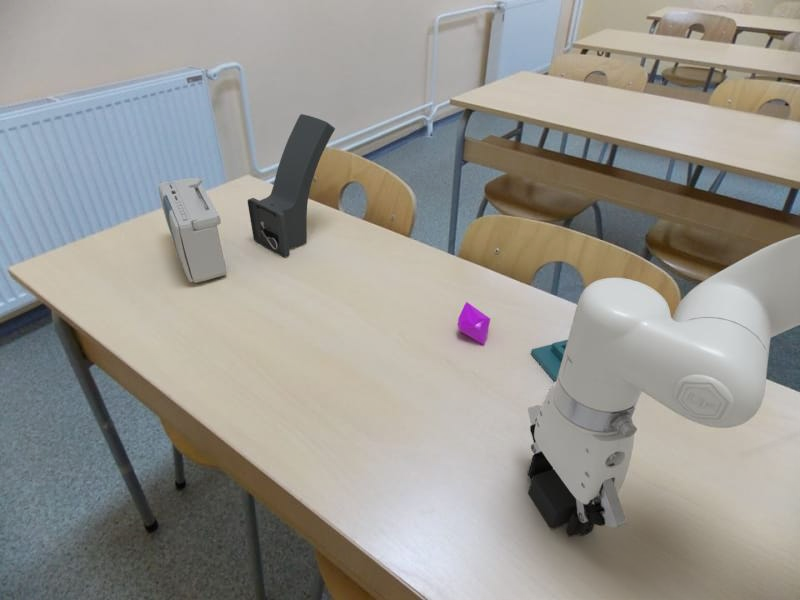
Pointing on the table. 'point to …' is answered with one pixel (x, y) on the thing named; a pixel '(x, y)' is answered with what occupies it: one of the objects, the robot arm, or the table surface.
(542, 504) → the black square block
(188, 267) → the radio
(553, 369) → the dock
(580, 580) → the table surface
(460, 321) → the crystal
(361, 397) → the table surface
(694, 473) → the table surface
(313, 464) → the table surface
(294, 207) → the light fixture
